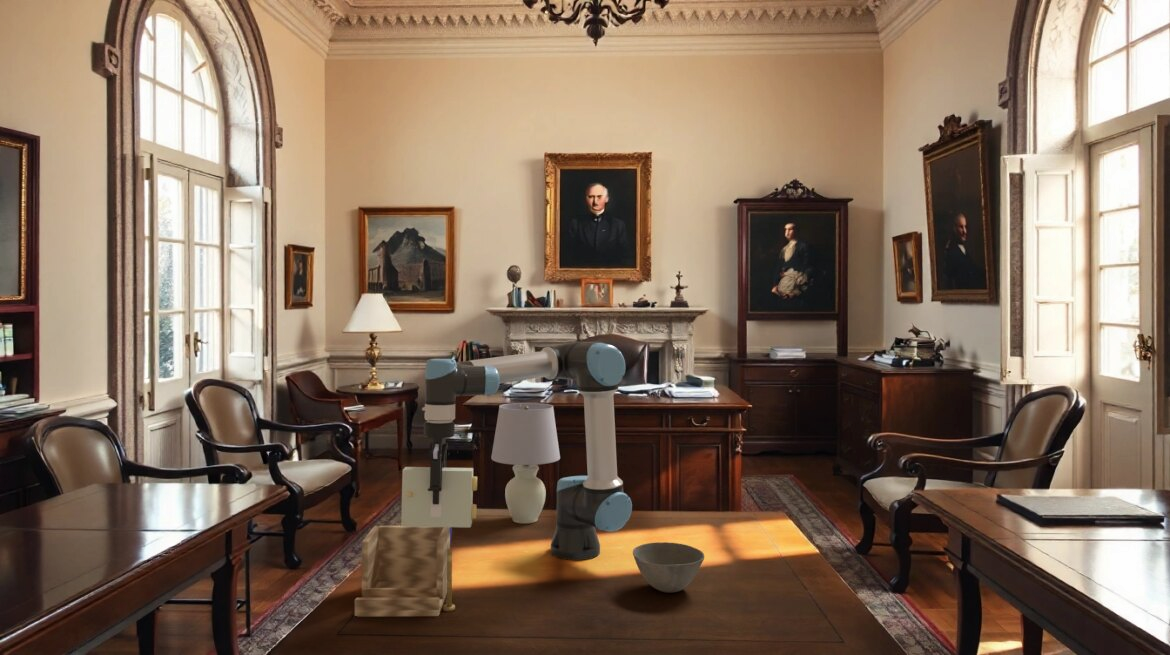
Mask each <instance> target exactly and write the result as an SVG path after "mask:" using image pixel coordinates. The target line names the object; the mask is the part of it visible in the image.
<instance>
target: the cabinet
mask: <svg viewBox="0 0 1170 655" xmlns="http://www.w3.org/2000/svg"><path fill="white" fill-rule="evenodd" d="M452 586H453V548H451V541H450V527H401V525H374V526H373V527H372V529H370V531H369V532H368V533H367V534H366V536H365V537H364V539H362V541H361V597H356V598H355V599H354V617H355V616H357V617H439V615H440V614H441V611H442V608H443V611H444V612H453V611H455V610H456V605H455V604H453V598H452V597H453V587H452ZM445 600H446V603H445V604H444V602H445Z"/></svg>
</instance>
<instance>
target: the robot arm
mask: <svg viewBox="0 0 1170 655" xmlns="http://www.w3.org/2000/svg"><path fill="white" fill-rule="evenodd" d="M625 374H626V360H625V358H624V355H623V354H622V352H621V350H619V349H618V348H617V347H616V346H615V345H612V344H608V343H605V342H593V341H592V342H589V341H573V342H572V341H571V342H567V343H562V344H557V345H552V346H546V347H543V348H542V349H541V350H540V351H534V352H526V353H520V354H519V353H517V354H511V355H502V356H495V357H487V358H479V359H471V360H466V361H465V360H464V361H459V362H458V361H456V360H455V359H452V358H430V359H428V360H427V361H426V364H425V372H424V407H423V406H422V408H421V411H423V412H424V420H426V421H424V423H423V435H424V437H426V438H428V439H430V438H431V439H432V443H431V444H430V445H429V456H430V457H429V458H430V459H429V460H430V462H429V463H430V464H429V465H430V466H429V467H430V488H428V491H431V504H430V517H442V488H441V486H442V468H447V458H448V457H447V451H448V442H446V439H449V438H453V437H455V430H456V429H455V427H456V425H455V422H454V420H455V419H456V397H461V396H463V397H467V396H468V397H470V396H471V397H472V396H474V397H475V396H484V397H486V396H490V395H494V394H496V393H497V391H498V390H499V387H500V384H506V383H512V382H513V383H514V382H520V381H526V380H533V379H538V378H545V379H547V380H555V379H556V380H557V379H559V380H560V379H561V380H568V381H569V380H572V381H575V382H577V391H578V392H579V393H580V394H581V395H582V397H583V407H584V426H585V427H584V428H585V447H586V448H585V449H586V465H587V466H586V467H587V468H586V469H587V475H573V476H567V477H566V476H565V477H562V478H560V479H559V480H557V485H556V528H555V530H554V533H553V536H552V539H551V543H550V551H549V552H550V554H551V555H552V556H554V557H556V558H558V559H559V558H560V559H562V560H563V559H565V560H573V561H574V560H575V561H576V560H577V561H578V560H587V559H589V560H590V559H592V558H594V557H595V558H596V557H598V556H599V555H600V553H601V544H600V540H599V537H598V533H597V530H600V531H606V532H609V533H610V532H611V533H612V532H613V533H614V532H617V531H619V530H620V529H622V528H623V527H624V526H625V525H626V523H627V522H628V521H629V520H630V517H631V514H632V510H633V504H632V503H633V502H632V499H631V497H629V496H628V494H626V493H625V492H624V481H623V480H622V479H621V478H620V477H619V476H618V465H617V464H618V462H617V460H618V459H617V444H616V443H617V441H616V423H615V403H614V399H615V398H614V395H615V393H616V392H617V391H618V390H619V383H620V382H621V381H622V380H623V377H624V376H625ZM596 529H597V530H596Z"/></svg>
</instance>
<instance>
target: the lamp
mask: <svg viewBox="0 0 1170 655" xmlns="http://www.w3.org/2000/svg"><path fill="white" fill-rule="evenodd" d="M498 407H499V408H498V414H497V421H496V425H495V426H496V427H495V433H494V439H493V443H492V444H493V445H492V453H491V457H490V458H491V460H492V461H493V462H496V463H498V464H499V463H500V464H505V465H513V466H512V472H513V473H514V477H513V478H511V479H510V480H509V481H508V482H507V484H506V486H505V494H504V497H505V503H506V506H507V509H508V512H509V514H510V516H511V519H512V521H513V522H514V523H517V524H523V525H526V524H532V523H533V524H534V523H535V522H537V521H538V520H539V517H540V514H541V513H542V510H543V508H544V505H545V503H546V496H547V494H546V493H547V492H546V487H545V484H544V482H543V481H542V480H541V479H540V478H539V477H538V476H537V474H538V471H539V470H540V467H539V465H545V464H551V463H555V462H558V461H560V459H561V454H560V448H559V441H558V440H559V439H558V432H557V427H556V418H555V409H554V405H552V404H548V403H539V402H513V403H505V404H500V405H499V406H498Z"/></svg>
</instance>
